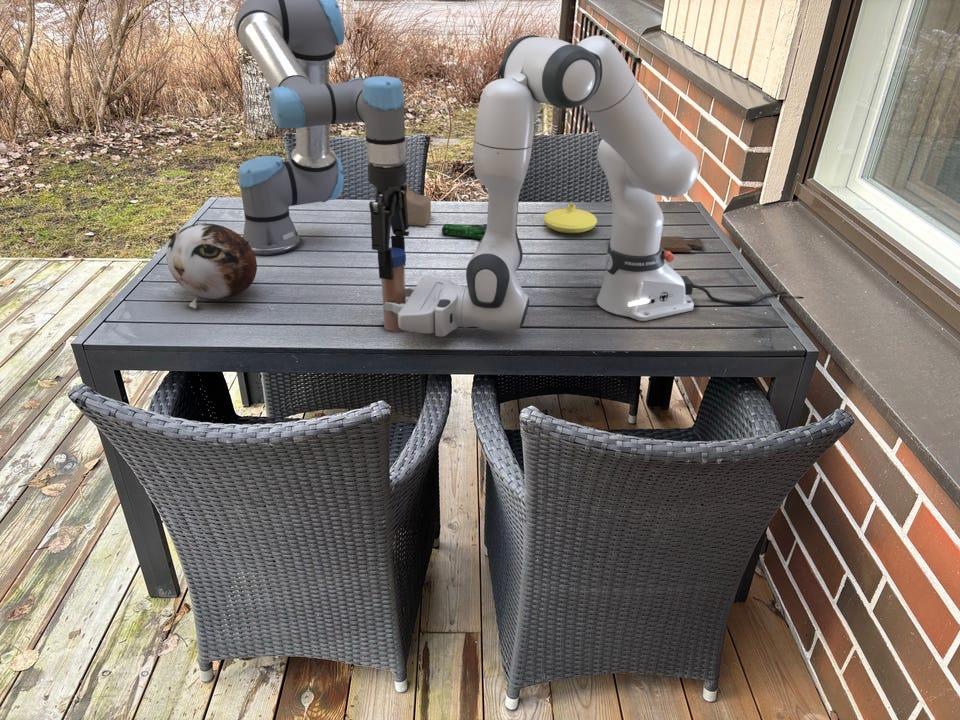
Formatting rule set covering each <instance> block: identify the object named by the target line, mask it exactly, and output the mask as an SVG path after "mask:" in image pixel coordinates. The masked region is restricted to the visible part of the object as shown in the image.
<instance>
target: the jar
mask: <svg viewBox="0 0 960 720" xmlns="http://www.w3.org/2000/svg"><path fill="white" fill-rule="evenodd" d="M392 273H393V279H392V280H389V279H382V278H380V282H381V283H380V284H381V298H382V314H383V316H382V317H383V327H384V329H385V330H386V331H389V332H401V331H403V330H402V329H401V328H399V326H398V314H396V313H394V312H393V311H386V310H385V303H386V302H387V301H388V300H390V301H394V302H395V303H396V304H399V305H400V304H405V303H406V301H407V297H406V292H405V288H406V272H405V267H404V264H403V265H401V266H398V267H392Z"/></svg>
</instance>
